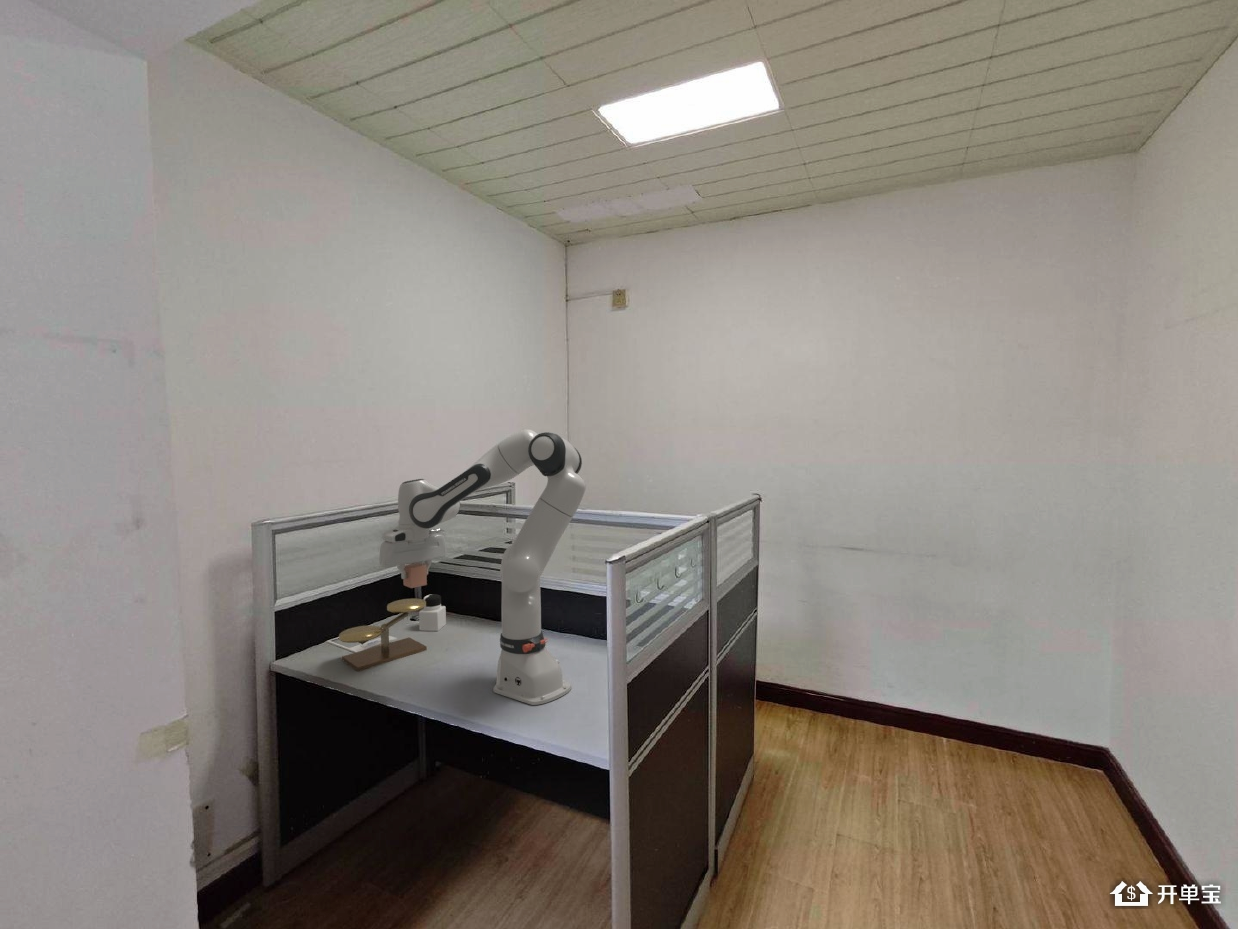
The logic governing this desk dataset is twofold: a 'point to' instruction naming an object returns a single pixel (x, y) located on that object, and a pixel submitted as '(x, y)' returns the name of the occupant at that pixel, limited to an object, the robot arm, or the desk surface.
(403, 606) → the balance
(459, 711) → the desk surface
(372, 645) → the photo frame
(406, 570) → the block
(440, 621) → the medicine bottle
